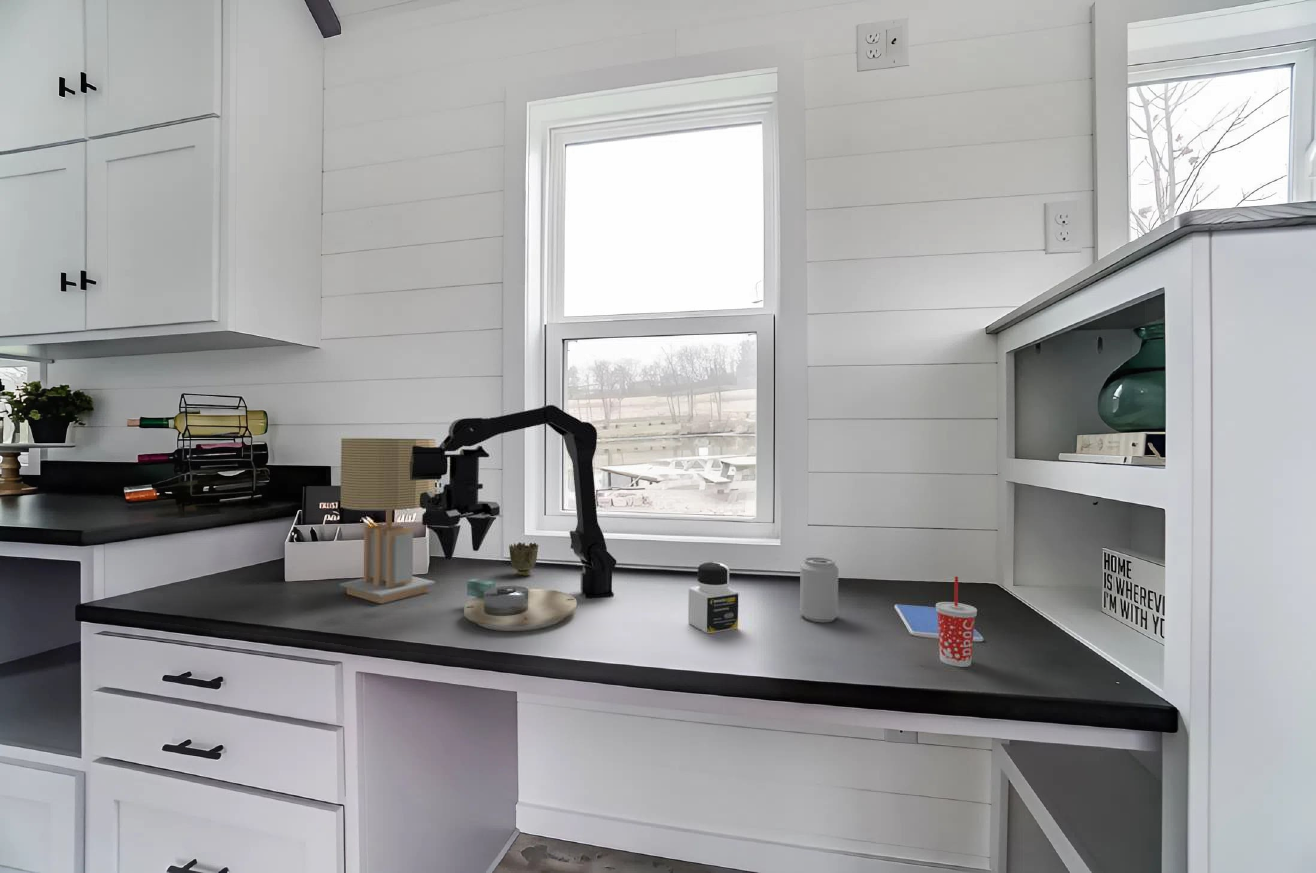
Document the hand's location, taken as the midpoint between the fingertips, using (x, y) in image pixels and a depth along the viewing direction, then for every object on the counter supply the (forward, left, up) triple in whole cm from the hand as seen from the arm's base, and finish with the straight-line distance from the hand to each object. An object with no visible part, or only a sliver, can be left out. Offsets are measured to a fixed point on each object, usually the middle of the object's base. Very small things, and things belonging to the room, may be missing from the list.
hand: (462, 554), depth 117 cm
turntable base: (-12, +6, -12) cm, 18 cm away
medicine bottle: (-47, +22, -12) cm, 53 cm away
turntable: (-12, +6, -10) cm, 17 cm away
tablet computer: (-91, +32, -12) cm, 97 cm away
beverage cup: (-79, +49, -12) cm, 93 cm away
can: (-70, +23, -12) cm, 74 cm away
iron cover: (-8, +9, -9) cm, 16 cm away
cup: (-15, -28, -12) cm, 34 cm away
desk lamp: (+16, -19, -12) cm, 28 cm away
